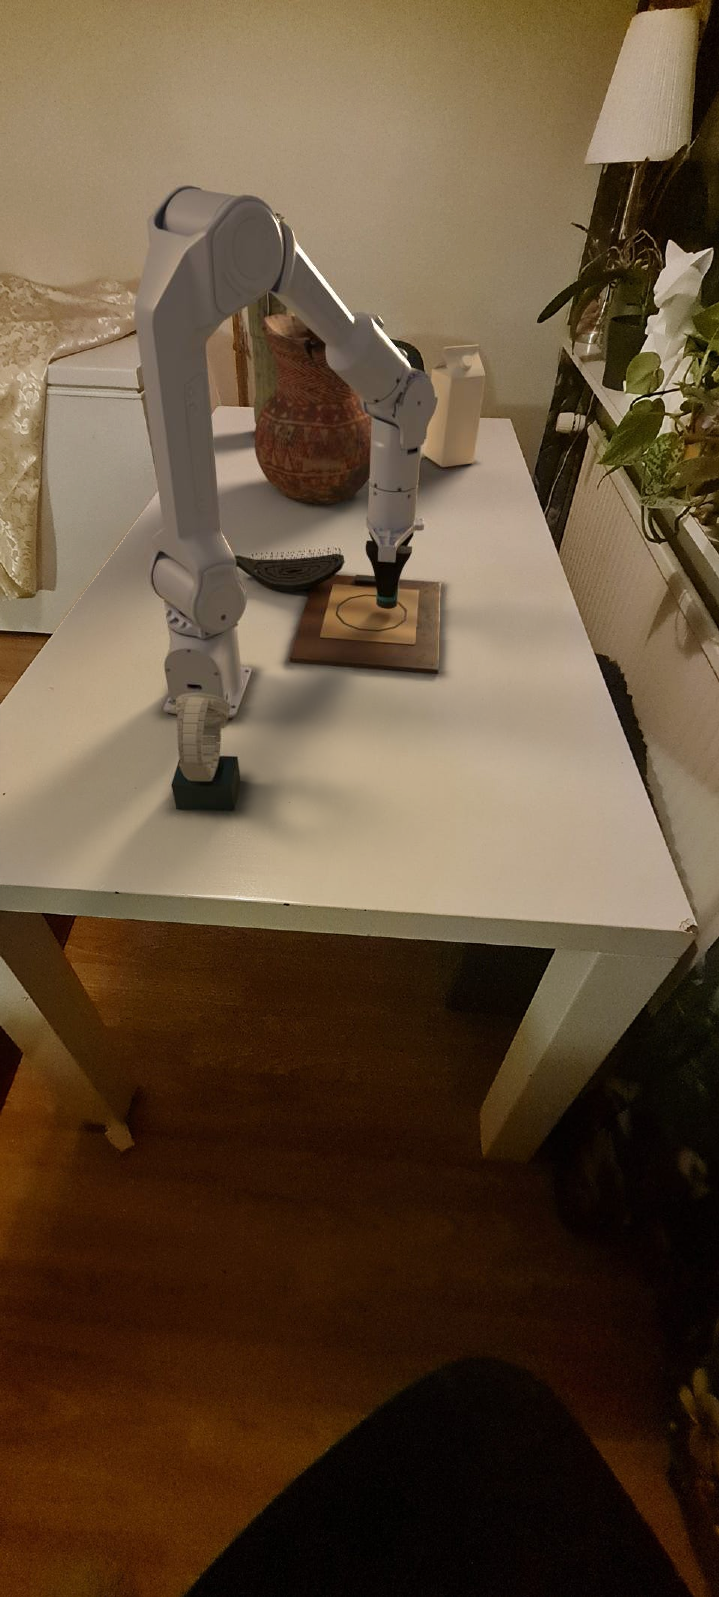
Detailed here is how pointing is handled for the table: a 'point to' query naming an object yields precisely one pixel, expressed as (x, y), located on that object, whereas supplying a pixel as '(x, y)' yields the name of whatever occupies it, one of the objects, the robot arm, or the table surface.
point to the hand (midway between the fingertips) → (387, 589)
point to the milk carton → (455, 406)
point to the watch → (203, 755)
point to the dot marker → (387, 601)
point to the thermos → (264, 345)
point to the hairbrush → (292, 570)
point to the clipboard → (370, 626)
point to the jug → (310, 421)
